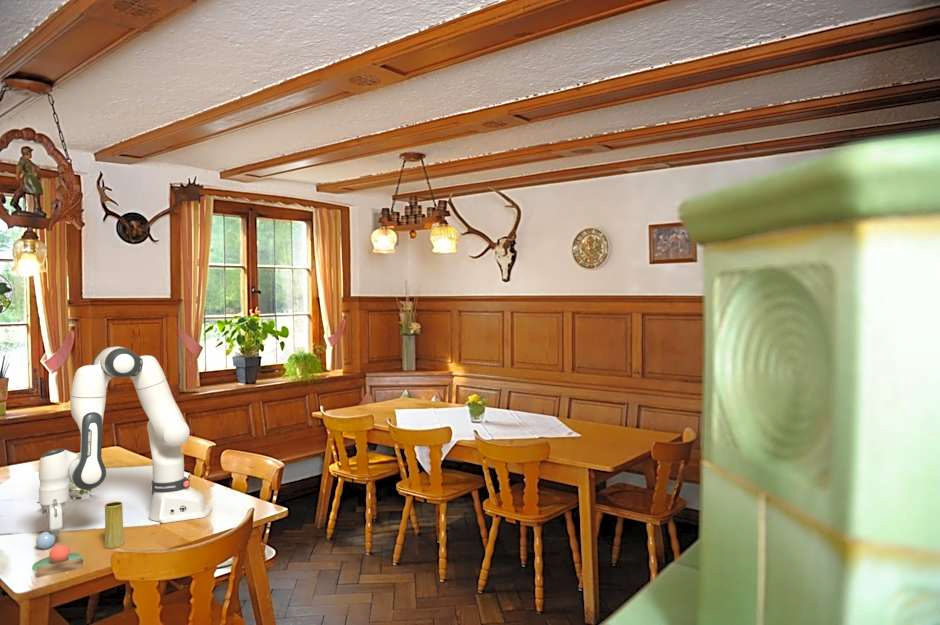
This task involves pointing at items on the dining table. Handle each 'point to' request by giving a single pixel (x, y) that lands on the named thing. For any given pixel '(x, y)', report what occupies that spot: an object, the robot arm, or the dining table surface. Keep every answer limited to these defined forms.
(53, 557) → the red ball
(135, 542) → the dining table surface
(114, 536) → the vase
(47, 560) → the green mark
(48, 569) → the walnut stop
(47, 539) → the blue ball
